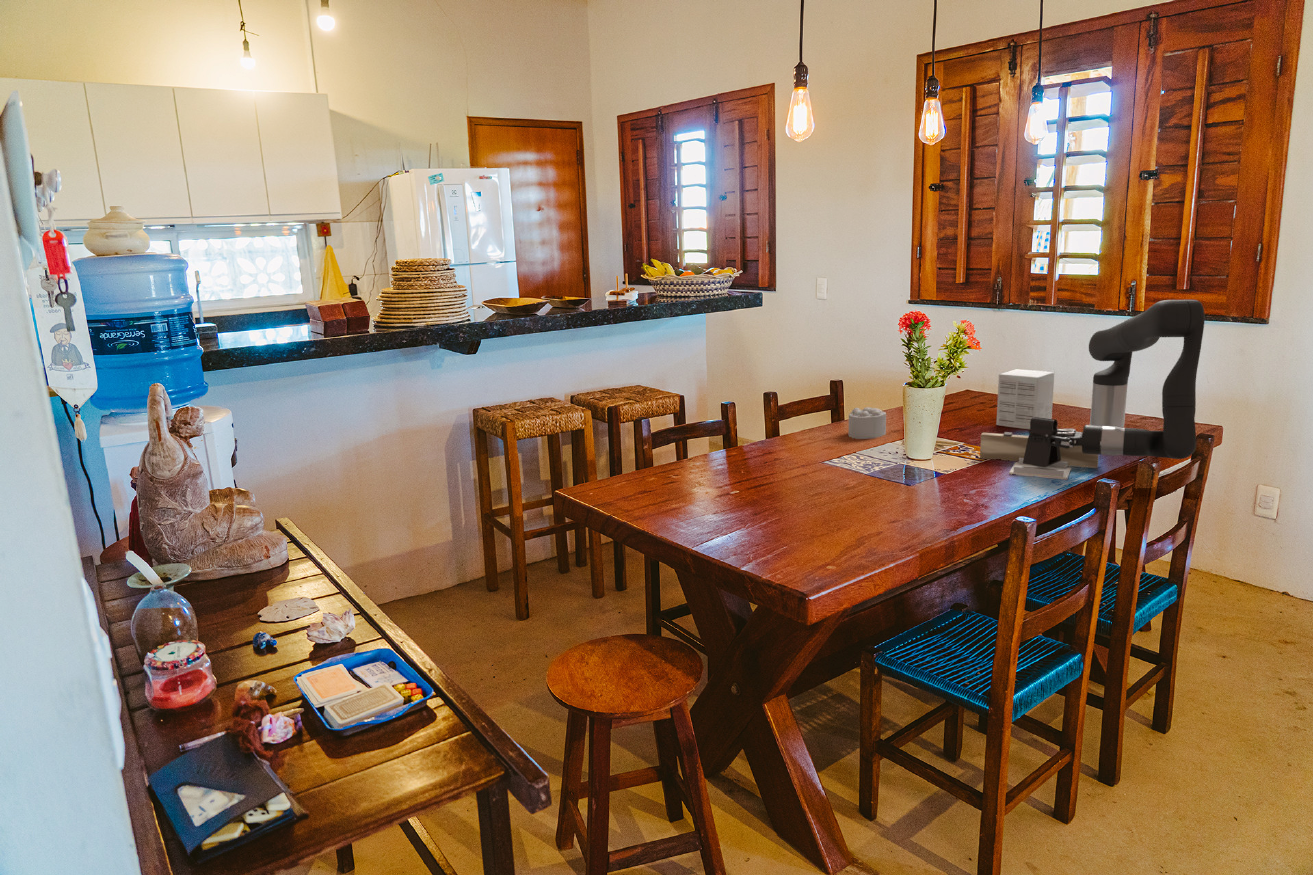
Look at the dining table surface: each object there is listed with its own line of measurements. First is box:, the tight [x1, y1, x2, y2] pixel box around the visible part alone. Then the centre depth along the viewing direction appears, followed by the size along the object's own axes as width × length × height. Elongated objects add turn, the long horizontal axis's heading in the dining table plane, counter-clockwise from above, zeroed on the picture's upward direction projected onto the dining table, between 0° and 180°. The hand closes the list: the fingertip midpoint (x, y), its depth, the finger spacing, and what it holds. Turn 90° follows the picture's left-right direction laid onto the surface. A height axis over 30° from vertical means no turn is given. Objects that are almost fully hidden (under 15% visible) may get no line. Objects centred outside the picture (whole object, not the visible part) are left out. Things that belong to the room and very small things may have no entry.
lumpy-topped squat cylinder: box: [848, 406, 887, 440], centre depth 271 cm, size 10×13×9 cm
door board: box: [979, 431, 1100, 469], centre depth 230 cm, size 3×30×8 cm, turn 59°
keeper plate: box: [1008, 458, 1072, 481], centre depth 222 cm, size 11×14×2 cm
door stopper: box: [1023, 417, 1061, 467], centre depth 220 cm, size 9×6×12 cm, turn 129°
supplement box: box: [995, 368, 1055, 431], centre depth 274 cm, size 13×13×18 cm
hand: (1031, 435), depth 221 cm, fingers closed on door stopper, 3 cm apart
